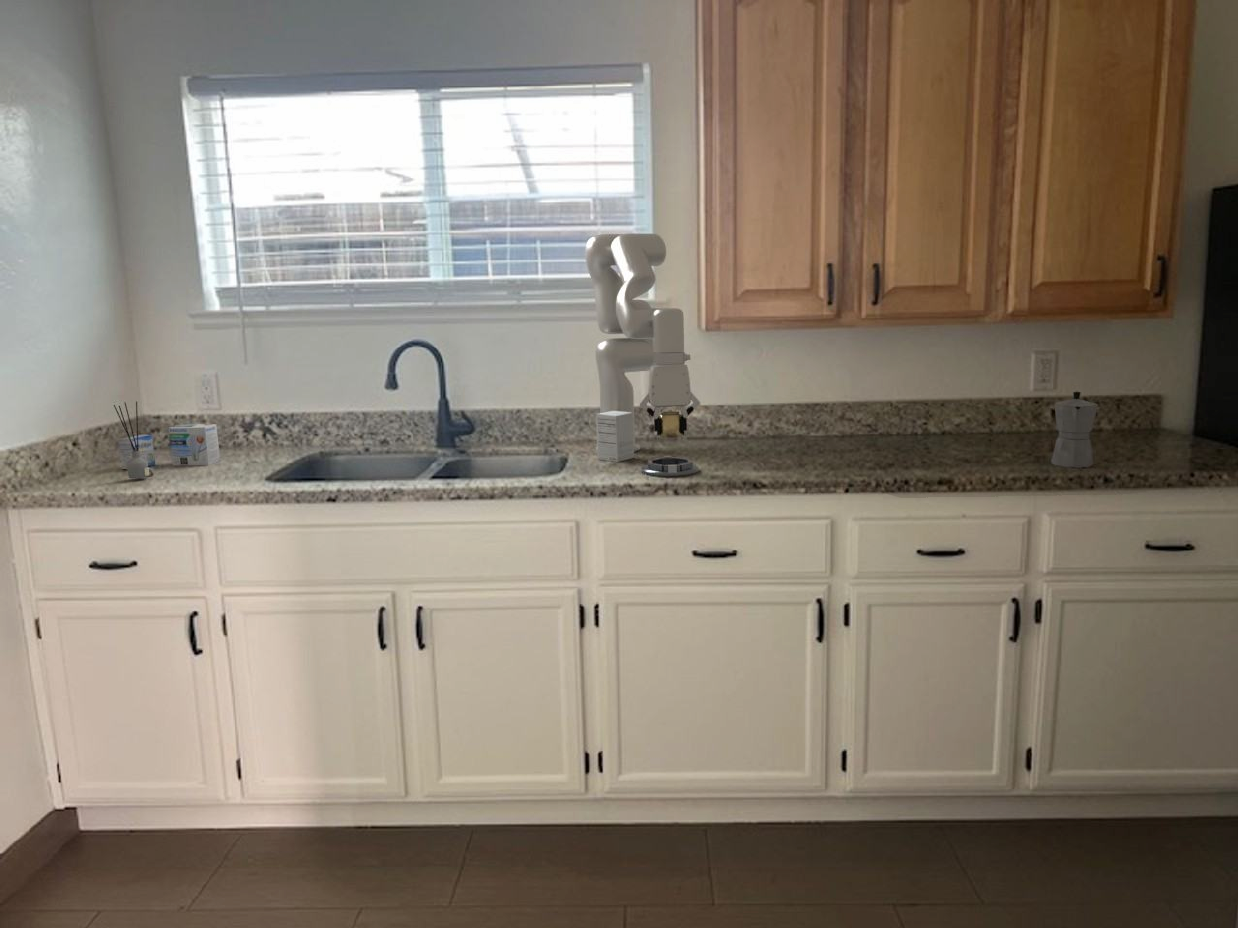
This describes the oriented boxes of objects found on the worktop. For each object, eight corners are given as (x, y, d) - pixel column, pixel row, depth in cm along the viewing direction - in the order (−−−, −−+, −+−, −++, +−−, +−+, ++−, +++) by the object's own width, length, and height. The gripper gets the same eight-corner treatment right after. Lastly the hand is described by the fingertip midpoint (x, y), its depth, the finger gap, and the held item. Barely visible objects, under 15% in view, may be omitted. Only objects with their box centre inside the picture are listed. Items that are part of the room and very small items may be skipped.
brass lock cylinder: (659, 435, 219) (658, 409, 218) (680, 434, 220) (679, 408, 219) (660, 437, 214) (660, 411, 213) (682, 437, 214) (681, 411, 213)
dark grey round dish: (640, 467, 226) (640, 456, 225) (694, 465, 226) (694, 455, 226) (643, 478, 212) (643, 466, 212) (701, 476, 213) (701, 465, 212)
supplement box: (614, 455, 244) (612, 410, 241) (635, 458, 239) (634, 412, 237) (596, 459, 238) (595, 413, 236) (617, 462, 233) (616, 415, 231)
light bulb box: (171, 466, 244) (167, 427, 242) (184, 461, 250) (180, 424, 248) (209, 465, 243) (205, 426, 241) (221, 461, 250) (217, 423, 248)
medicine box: (135, 470, 238) (131, 438, 236) (121, 470, 239) (117, 438, 237) (156, 465, 246) (152, 434, 244) (141, 465, 247) (138, 434, 245)
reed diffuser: (139, 482, 221) (129, 403, 217) (112, 483, 221) (101, 404, 217) (160, 474, 231) (151, 398, 227) (134, 475, 231) (124, 399, 227)
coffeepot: (1095, 470, 209) (1101, 394, 206) (1051, 468, 213) (1056, 394, 209) (1090, 459, 223) (1095, 388, 220) (1048, 457, 227) (1053, 387, 223)
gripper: (702, 358, 218) (703, 431, 221) (633, 360, 218) (635, 433, 220) (705, 359, 211) (707, 434, 213) (634, 361, 210) (636, 437, 213)
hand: (670, 433), depth 217 cm, fingers closed on brass lock cylinder, 5 cm apart
